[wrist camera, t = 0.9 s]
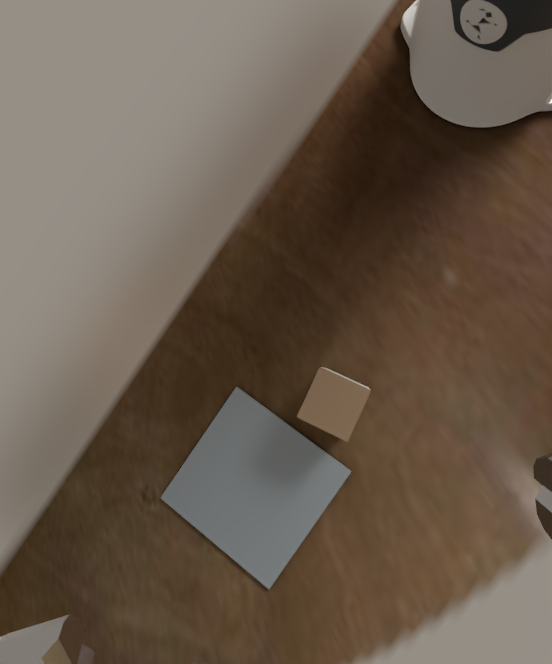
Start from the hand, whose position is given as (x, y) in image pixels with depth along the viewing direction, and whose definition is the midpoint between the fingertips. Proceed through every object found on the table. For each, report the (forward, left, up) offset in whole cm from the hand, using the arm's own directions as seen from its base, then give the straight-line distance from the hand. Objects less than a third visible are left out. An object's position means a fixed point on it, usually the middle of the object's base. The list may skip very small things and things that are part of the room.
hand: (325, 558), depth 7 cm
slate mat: (+12, -3, -36) cm, 38 cm away
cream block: (0, -1, -36) cm, 36 cm away
